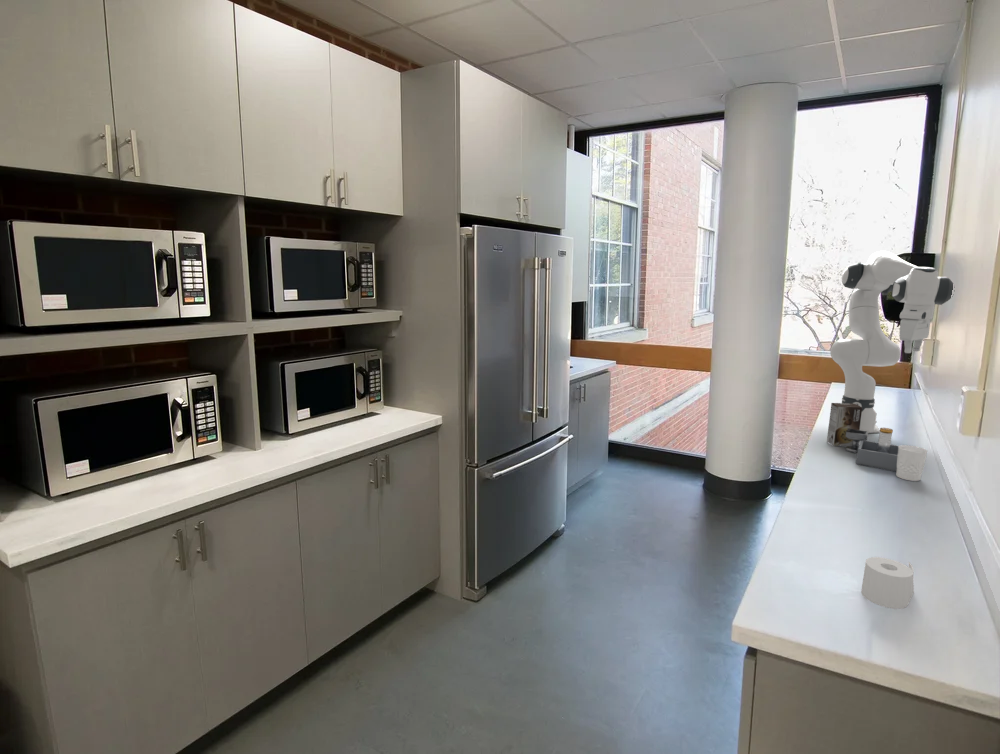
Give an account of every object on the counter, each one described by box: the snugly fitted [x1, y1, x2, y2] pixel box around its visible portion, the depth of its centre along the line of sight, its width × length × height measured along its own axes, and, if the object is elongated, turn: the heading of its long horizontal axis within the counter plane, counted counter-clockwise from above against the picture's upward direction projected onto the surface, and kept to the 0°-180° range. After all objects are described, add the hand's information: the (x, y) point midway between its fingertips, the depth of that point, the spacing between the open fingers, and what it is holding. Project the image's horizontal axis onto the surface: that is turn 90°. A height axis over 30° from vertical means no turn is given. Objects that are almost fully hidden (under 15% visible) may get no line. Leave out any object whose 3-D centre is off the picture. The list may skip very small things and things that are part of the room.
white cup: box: [895, 444, 928, 482], centre depth 193 cm, size 8×8×10 cm
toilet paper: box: [860, 556, 915, 610], centre depth 121 cm, size 8×11×7 cm
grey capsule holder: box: [845, 428, 869, 454], centre depth 221 cm, size 7×7×8 cm
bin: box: [855, 440, 899, 472], centre depth 207 cm, size 15×15×6 cm
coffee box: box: [826, 402, 862, 448], centre depth 229 cm, size 9×6×16 cm
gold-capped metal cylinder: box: [877, 427, 894, 454], centre depth 207 cm, size 4×4×12 cm
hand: (912, 352), depth 209 cm, fingers open, 8 cm apart
